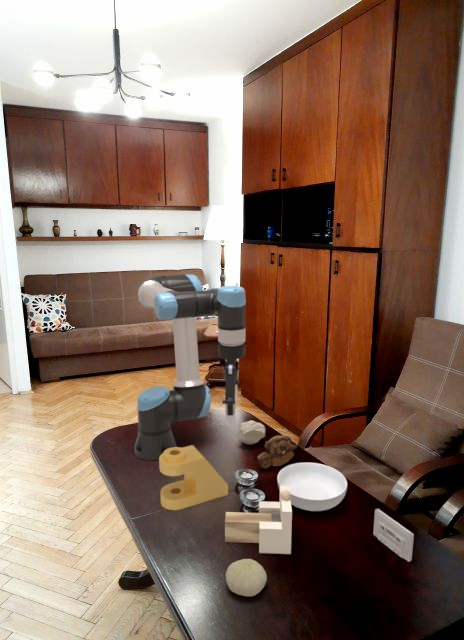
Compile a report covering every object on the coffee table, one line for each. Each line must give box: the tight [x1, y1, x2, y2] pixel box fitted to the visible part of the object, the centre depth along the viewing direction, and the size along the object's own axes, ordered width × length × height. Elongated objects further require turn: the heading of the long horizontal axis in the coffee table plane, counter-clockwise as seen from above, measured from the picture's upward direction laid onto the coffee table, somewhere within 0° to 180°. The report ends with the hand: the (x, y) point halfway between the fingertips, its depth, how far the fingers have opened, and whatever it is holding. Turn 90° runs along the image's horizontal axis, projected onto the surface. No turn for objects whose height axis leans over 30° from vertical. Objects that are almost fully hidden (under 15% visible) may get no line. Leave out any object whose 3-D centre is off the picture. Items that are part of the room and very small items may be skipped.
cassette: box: [373, 508, 415, 563], centre depth 115 cm, size 12×2×8 cm, turn 29°
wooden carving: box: [256, 435, 298, 469], centre depth 155 cm, size 16×5×10 cm, turn 128°
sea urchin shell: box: [225, 558, 268, 597], centre depth 103 cm, size 9×8×8 cm
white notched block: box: [258, 486, 293, 555], centre depth 118 cm, size 11×8×14 cm
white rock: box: [237, 419, 267, 445], centre depth 169 cm, size 12×8×10 cm
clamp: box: [158, 444, 229, 511], centre depth 136 cm, size 20×9×16 cm, turn 118°
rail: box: [224, 511, 280, 544], centre depth 119 cm, size 4×14×6 cm, turn 87°
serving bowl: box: [276, 462, 348, 512], centre depth 136 cm, size 21×21×7 cm
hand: (231, 414), depth 128 cm, fingers open, 13 cm apart
